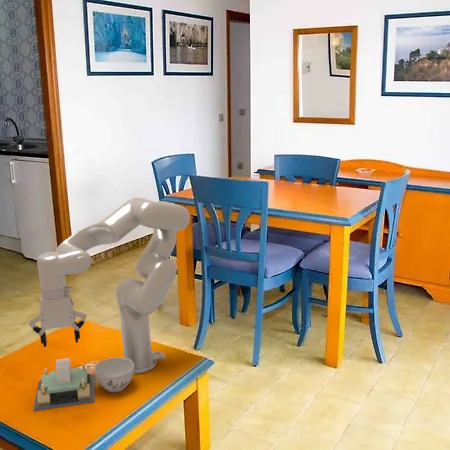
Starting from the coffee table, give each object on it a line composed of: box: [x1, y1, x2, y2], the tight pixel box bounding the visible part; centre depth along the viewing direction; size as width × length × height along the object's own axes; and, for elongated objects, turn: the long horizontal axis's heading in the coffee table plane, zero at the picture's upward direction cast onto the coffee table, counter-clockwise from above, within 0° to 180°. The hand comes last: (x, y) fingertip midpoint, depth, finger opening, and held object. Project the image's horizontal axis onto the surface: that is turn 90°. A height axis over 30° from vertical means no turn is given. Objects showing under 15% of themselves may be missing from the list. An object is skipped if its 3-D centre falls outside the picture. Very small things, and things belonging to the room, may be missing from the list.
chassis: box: [33, 362, 96, 412], centre depth 180 cm, size 18×16×7 cm
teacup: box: [93, 357, 134, 393], centre depth 183 cm, size 15×12×8 cm
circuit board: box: [41, 357, 87, 394], centre depth 179 cm, size 14×12×6 cm
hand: (61, 342), depth 177 cm, fingers open, 9 cm apart
